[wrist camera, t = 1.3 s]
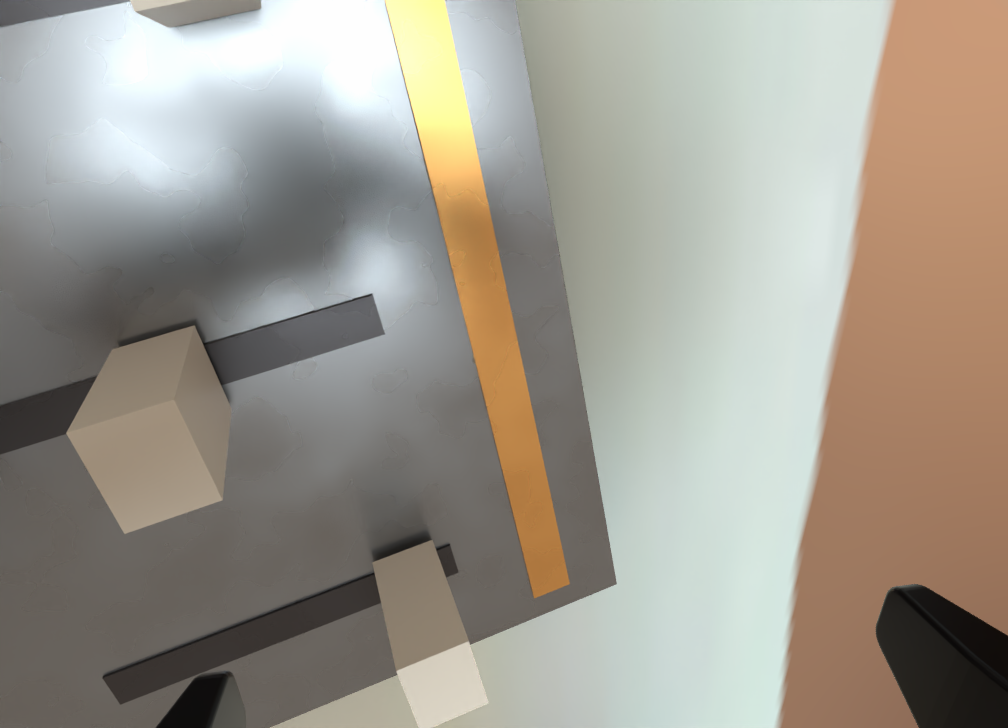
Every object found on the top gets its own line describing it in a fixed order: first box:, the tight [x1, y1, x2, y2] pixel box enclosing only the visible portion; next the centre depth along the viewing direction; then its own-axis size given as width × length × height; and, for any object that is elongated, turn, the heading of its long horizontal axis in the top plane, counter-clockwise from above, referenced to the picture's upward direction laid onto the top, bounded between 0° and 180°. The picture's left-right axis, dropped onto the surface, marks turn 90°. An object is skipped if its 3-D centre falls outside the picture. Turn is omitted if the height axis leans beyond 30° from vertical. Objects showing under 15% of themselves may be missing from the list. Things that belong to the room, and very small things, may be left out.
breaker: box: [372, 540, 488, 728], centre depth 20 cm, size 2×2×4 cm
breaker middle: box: [66, 325, 232, 534], centre depth 16 cm, size 2×2×4 cm
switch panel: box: [0, 0, 617, 728], centre depth 19 cm, size 22×26×2 cm
